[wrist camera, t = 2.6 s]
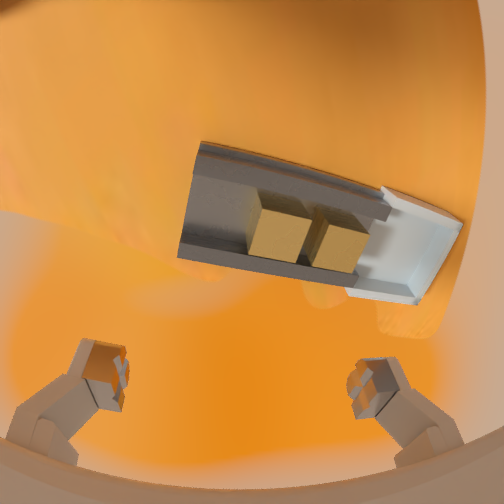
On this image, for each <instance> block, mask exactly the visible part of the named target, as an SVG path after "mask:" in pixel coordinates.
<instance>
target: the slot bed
mask: <svg viewBox="0 0 504 504" xmlns="http://www.w3.org/2000/svg"><path fill="white" fill-rule="evenodd" d="M257 192H259V193H264V194H268V195H272V196H276V197H281V198H285V199H289V200H293V201H297V202H301V203H302V204H303V205H304V207H305V209H306V210H307V212H308V214H309V216H310V217H311V219H312V220H313V217H314V215H315V212H316V209H317V207H320V208H324V209H328V210H332V211H336V212H339V213H343V214H347V215H350V216H354V217H356V218H357V219H358V220H359V222H360V223H361V224H362V225H363V226H364V228H365V229H366V230H367V231H369V229H370V227H371V224H372V222H373V220H374V219H377V220H380V221H384V222H386V221H387V219H388V216H389V214H390V212H391V210H392V207H391V206H390V205H389V204H388V203H387V202H386V201H385V200H384V199H383V197H384V195H385V194H384V193H383V192H382V191H381V190H378V189H375V188H373V187H370V186H367V185H364V184H361V183H358V182H355V181H352V180H349V179H346V178H342V177H339V176H336V175H333V174H330V173H326V172H323V171H320V170H316V169H313V168H310V167H306V166H303V165H299V164H296V163H292V162H288V161H285V160H281V159H277V158H273V157H269V156H265V155H261V154H257V153H253V152H249V151H245V150H241V149H236V148H232V147H228V146H223V145H218V144H214V143H209V142H204V141H201V143H200V147H199V150H198V153H197V156H196V161H195V165H194V170H193V179H192V183H191V188H190V193H189V198H188V203H187V208H186V214H185V219H184V224H183V230H182V234H181V238H180V243H179V249H178V255H177V258H182V259H187V260H192V261H198V262H203V263H209V264H214V265H220V266H225V267H231V268H236V269H242V270H248V271H253V272H259V273H265V274H271V275H276V276H283V277H288V278H294V279H300V280H306V281H312V282H318V283H324V284H330V285H336V286H342V287H349V288H353V287H354V285H355V283H356V281H357V280H358V278H359V275H358V273H357V271H356V270H355V268H354V270H353V272H352V274H351V273H346V272H340V271H335V270H330V269H324V268H319V267H313V266H311V263H310V261H309V259H308V256H307V254H306V252H305V249H304V247H303V245H302V248H301V250H300V253H299V255H298V258H297V260H296V263H292V262H287V261H281V260H276V259H271V258H265V257H260V256H255V255H249V254H248V249H247V242H246V234H245V233H246V230H247V226H248V223H249V219H250V216H251V213H252V209H253V206H254V203H255V199H256V196H257ZM309 228H310V227H309Z"/></svg>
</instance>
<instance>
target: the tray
mask: <svg viewBox="0 0 504 504" xmlns="http://www.w3.org/2000/svg"><path fill="white" fill-rule="evenodd" d="M380 190H381V191H382V192H383V193H384V194H385V195H384V197H383V199H384V200H385V201H386V202H387V203H388V204H389V205H390V206H391V207H392V210H391V212H390V214H389V216H388V219H387V221H386V222H384V221H380V220H377V219H374V220H373V222H372V224H371V227H370V229H369V231H368V233H369V234H370V237H369V239H368V241H367V244H366V246H365V248H364V250H363V252H362V254H361V256H360V258H359V260H358V262H357V264H356V266H355V270H356V271H357V273H358V275H359V278H358V280H357V281H356V283H355V285H354V287H353V288H349V287H344V288H345V290H346V292H347V294H348V296H353V297H360V298H367V299H374V300H381V301H388V302H396V303H403V304H411V305H418V303H419V302H420V300H421V299H422V297H423V296H424V294H425V292H426V291H427V289H428V288H429V286H430V284H431V283H432V281H433V279H434V278H435V276H436V274H437V272H438V271H439V269H440V267H441V266H442V264H443V262H444V260H445V258H446V257H447V255H448V253H449V251H450V249H451V247H452V246H453V244H454V242H455V240H456V238H457V236H458V234H459V232H460V230H461V228H462V226H463V223H461V222H460V221H459V220H458V219H456V218H455V217H454V216H453V215H451V214H450V213H449V212H447V211H445V210H443V209H440V208H438V207H436V206H433V205H431V204H428V203H426V202H424V201H421V200H419V199H416V198H414V197H411V196H409V195H406V194H403V193H401V192H398V191H396V190H393V189H390V188H388V187H385V186H382V187H381V189H380Z"/></svg>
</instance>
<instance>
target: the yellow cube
mask: <svg viewBox="0 0 504 504" xmlns="http://www.w3.org/2000/svg"><path fill="white" fill-rule="evenodd" d="M369 237H370V234H369V233H368V231H367V230H366V229H365V228H364V226H363V225H362V224H361V223H360V222H359V220H358V219H357V218H356V217H354V216H350V215H347V214H343V213H339V212H336V211H332V210H328V209H324V208H320V207H317V209H316V212H315V215H314V217H313V220H312V222H311V225H310V228H309V230H308V233H307V235H306V238H305V240H304V243H303V247H304V249H305V252H306V254H307V256H308V259H309V261H310V263H311V266H313V267H319V268H324V269H330V270H335V271H340V272H346V273H351V274H352V272H353V270H354V268H355V266H356V264H357V262H358V260H359V258H360V256H361V254H362V252H363V250H364V248H365V246H366V244H367V241H368V239H369Z"/></svg>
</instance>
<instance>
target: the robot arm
mask: <svg viewBox="0 0 504 504" xmlns="http://www.w3.org/2000/svg"><path fill="white" fill-rule="evenodd" d="M125 356H126V348H125V346H122V345H116V344H111V343H106V342H101V341H96V340H91V339H87V338H83V339H82V340H81V341H80V343H79V345H78V347H77V350H76V352H75V355H74V357H73V360H72V362H71V365H70V367H69V370H68V372H67V375H66V374H62V375H61V376H59V377H58V378H56V379H55V380H54V381H52V382H51V383H50V384H48V385H47V386H46V387H44V388H43V389H41V390H40V391H39V392H37V393H36V394H35V395H33V396H32V397H30V398H29V399H28V400H26V401H25V402H24V403H22V404H21V405H20V406H18V407H17V409H16V411H15V414H14V416H13V419H12V422H11V424H10V427H9V430H8V433H7V436H6V439H3V438H1V437H0V504H504V426H502V427H500V428H499V429H497V430H495V431H493V432H491V433H489V434H487V435H485V436H482V437H480V438H478V439H476V440H474V441H471V442H469V443H467V444H464V442H463V440H462V437H461V435H460V433H459V430H458V428H457V426H456V423H455V421H454V419H453V418H451V417H450V416H449V415H447V414H446V413H445V412H444V411H442V410H441V409H440V408H438V407H437V406H436V405H435V404H433V403H432V402H430V400H428V399H427V398H426V397H424V396H423V395H422V394H421V393H419V392H418V391H417V390H416V389H411V387H410V385H409V382H408V380H407V378H406V376H405V374H404V372H403V369H402V367H401V365H400V363H399V361H398V359H397V358H396V357H384V358H382V357H380V358H365V359H360V360H358V361H357V363H356V365H355V366H356V369H355V370H354V371H352V372H351V373H350V375H349V377H348V379H347V392H348V395H349V396H350V397H351V398H352V399H353V400H354V401H353V403H352V408H353V412H354V415H355V418H356V419H365V418H374V417H375V419H376V420H377V421H378V422H379V424H380V425H381V426H382V427H383V428H384V429H385V430H386V431H387V432H388V433H389V434H390V435H391V436H392V437H393V439H395V441H396V442H397V443H398V444H399V445H400V446H401V447H402V448H403V450H401V451H400V452H399V453H398V454H396V455H395V457H394V460H395V464H396V467H397V468H396V469H392V470H388V471H385V472H381V473H376V474H372V475H368V476H363V477H359V478H353V479H348V480H343V481H337V482H331V483H324V484H318V485H309V486H300V487H288V488H275V489H245V490H244V489H243V490H238V489H236V490H235V489H231V490H230V489H204V488H191V487H180V486H170V485H162V484H155V483H149V482H143V481H137V480H131V479H126V478H122V477H117V476H112V475H108V474H104V473H99V472H96V471H91V470H88V469H84V468H81V467H77V466H76V465H77V460H78V455H79V454H78V453H77V451H76V450H75V449H74V447H73V446H72V445H71V444H70V443H69V442H68V440H69V439H70V438H71V437H72V436H73V435H74V434H75V433H76V432H77V431H78V430H79V429H80V428H81V427H82V426H83V425H84V424H85V423H86V422H87V421H88V420H89V419H90V418H91V417H92V416H93V415H94V414H95V413H96V412H97V411H98V408H99V409H105V410H110V411H116V412H122V407H123V403H124V398H125V396H124V393H123V389H124V388H126V387H127V385H128V380H129V362H128V360H127V359H126V358H125Z"/></svg>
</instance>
